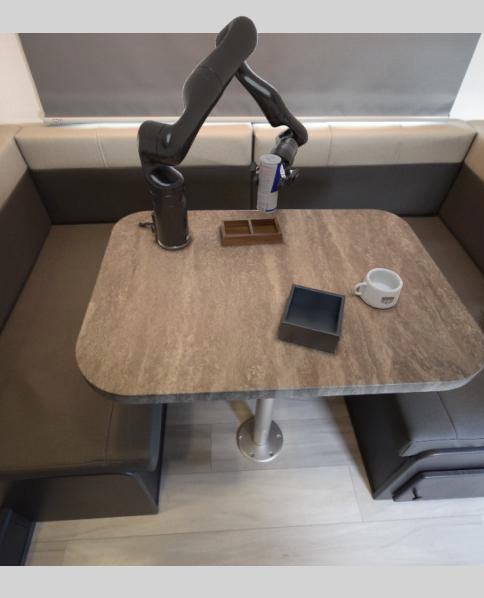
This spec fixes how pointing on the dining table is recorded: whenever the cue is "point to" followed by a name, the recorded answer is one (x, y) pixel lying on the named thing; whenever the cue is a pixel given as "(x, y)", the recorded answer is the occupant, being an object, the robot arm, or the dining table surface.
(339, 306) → the dark gray square box
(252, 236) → the wooden divided tray
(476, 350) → the dining table surface
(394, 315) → the dining table surface
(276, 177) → the beverage can
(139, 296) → the dining table surface
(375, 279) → the mug
